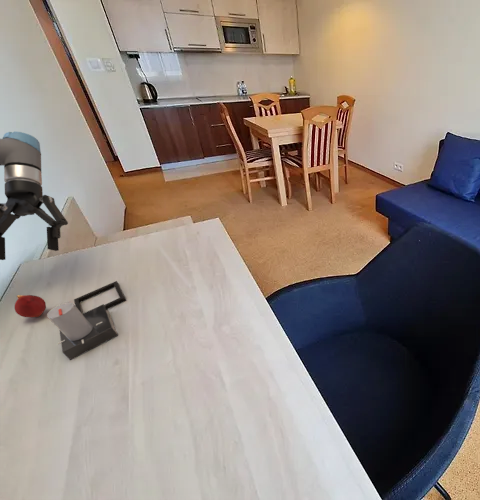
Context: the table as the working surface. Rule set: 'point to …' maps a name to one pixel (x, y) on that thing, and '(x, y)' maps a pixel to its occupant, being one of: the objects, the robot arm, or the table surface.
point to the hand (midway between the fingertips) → (26, 254)
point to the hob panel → (91, 333)
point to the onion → (29, 306)
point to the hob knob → (70, 321)
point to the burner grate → (98, 291)
